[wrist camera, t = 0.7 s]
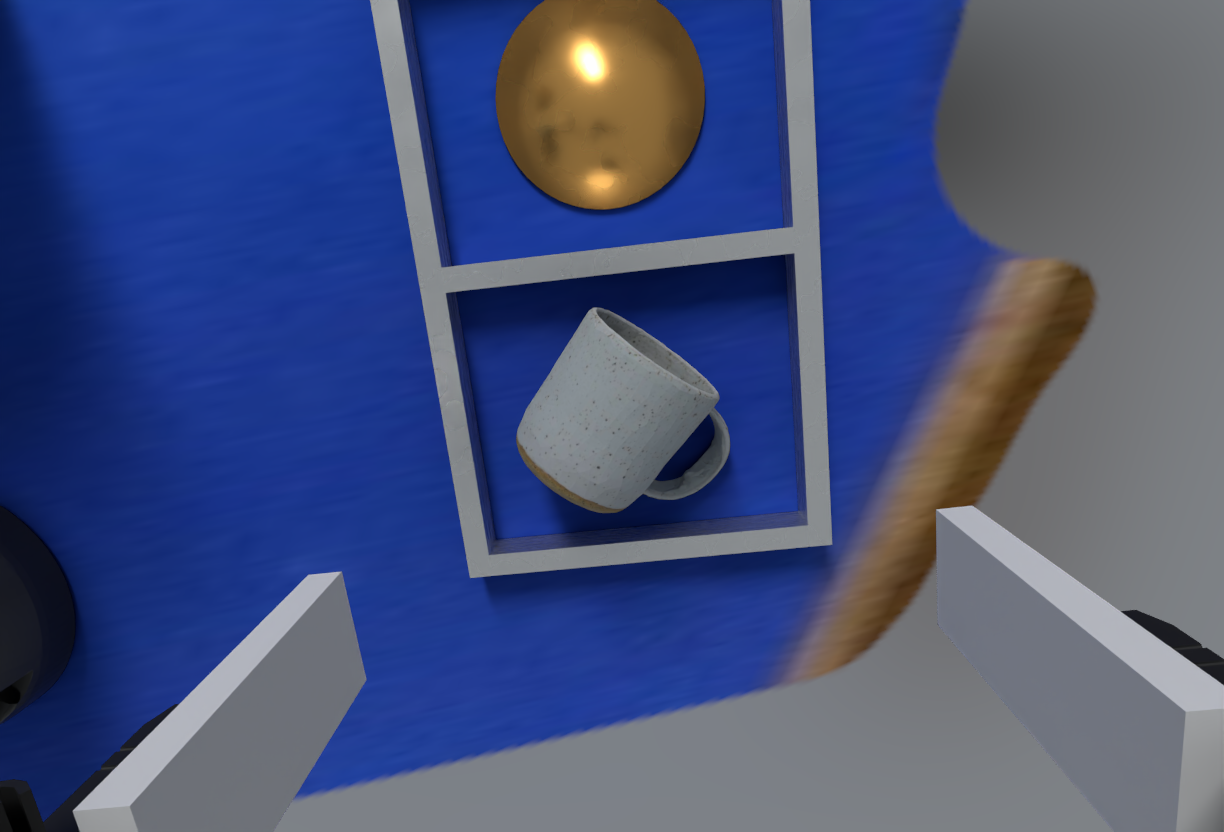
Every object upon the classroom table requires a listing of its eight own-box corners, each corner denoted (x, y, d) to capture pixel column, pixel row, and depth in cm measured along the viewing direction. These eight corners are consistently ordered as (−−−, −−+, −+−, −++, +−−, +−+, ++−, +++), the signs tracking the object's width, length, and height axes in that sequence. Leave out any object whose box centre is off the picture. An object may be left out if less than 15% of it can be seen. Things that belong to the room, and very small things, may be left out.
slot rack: (478, 561, 38) (470, 577, 36) (373, -62, 31) (355, -83, 29) (821, 529, 37) (832, 544, 35) (792, -121, 30) (804, -147, 28)
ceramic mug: (516, 422, 36) (491, 465, 29) (595, 298, 35) (589, 311, 27) (673, 520, 37) (686, 584, 30) (757, 404, 36) (792, 443, 29)
